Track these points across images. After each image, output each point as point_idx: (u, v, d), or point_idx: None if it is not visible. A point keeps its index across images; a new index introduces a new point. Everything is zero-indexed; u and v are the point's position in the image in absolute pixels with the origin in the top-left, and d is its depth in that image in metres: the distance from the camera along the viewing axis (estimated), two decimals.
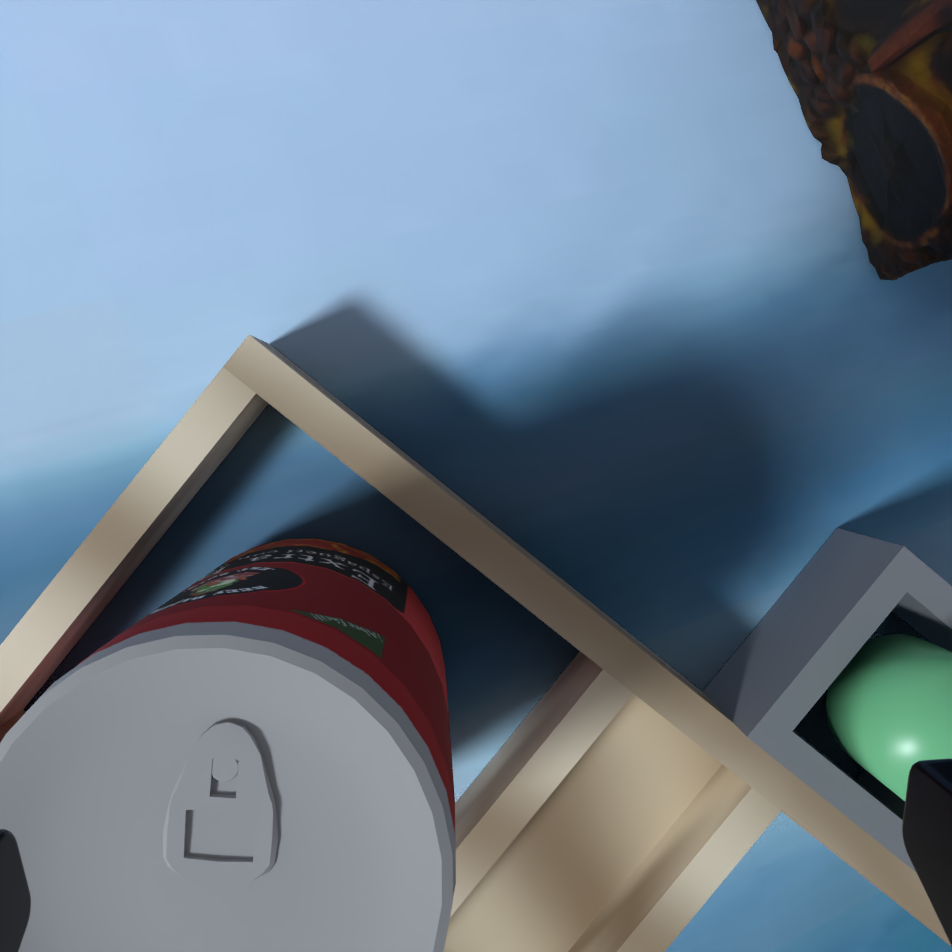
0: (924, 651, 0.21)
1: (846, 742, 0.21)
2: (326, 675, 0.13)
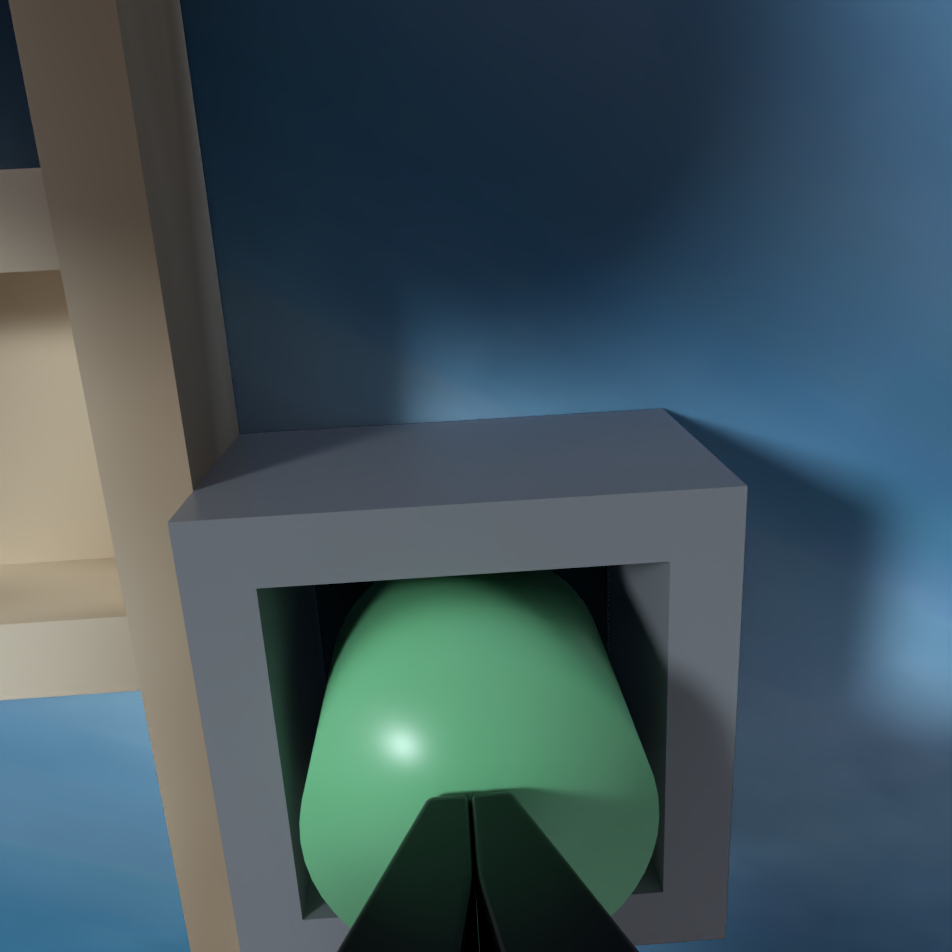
0: (581, 638, 0.10)
1: (336, 655, 0.10)
2: None
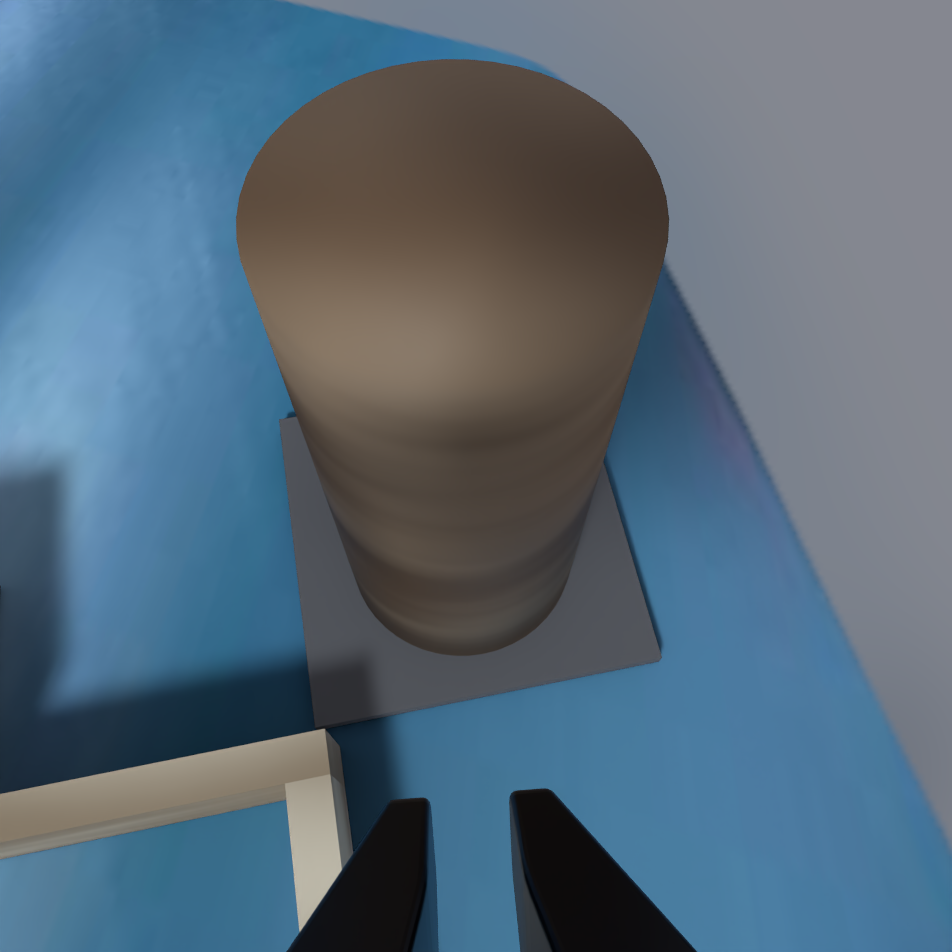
0: None
1: None
2: None
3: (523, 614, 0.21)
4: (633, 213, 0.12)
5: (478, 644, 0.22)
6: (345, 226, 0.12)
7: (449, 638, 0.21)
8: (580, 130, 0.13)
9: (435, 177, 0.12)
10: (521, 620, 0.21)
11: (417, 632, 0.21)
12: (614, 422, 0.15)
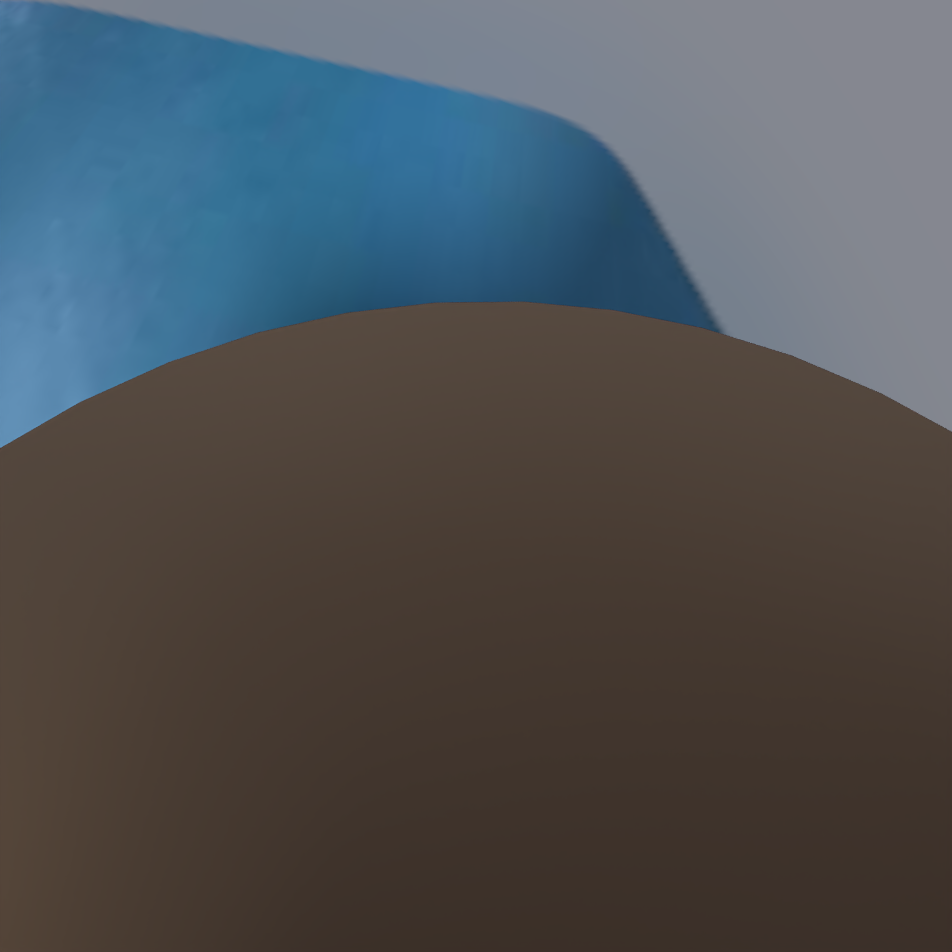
0: None
1: None
2: None
3: None
4: None
5: None
6: None
7: None
8: None
9: (412, 923, 0.03)
10: None
11: None
12: None
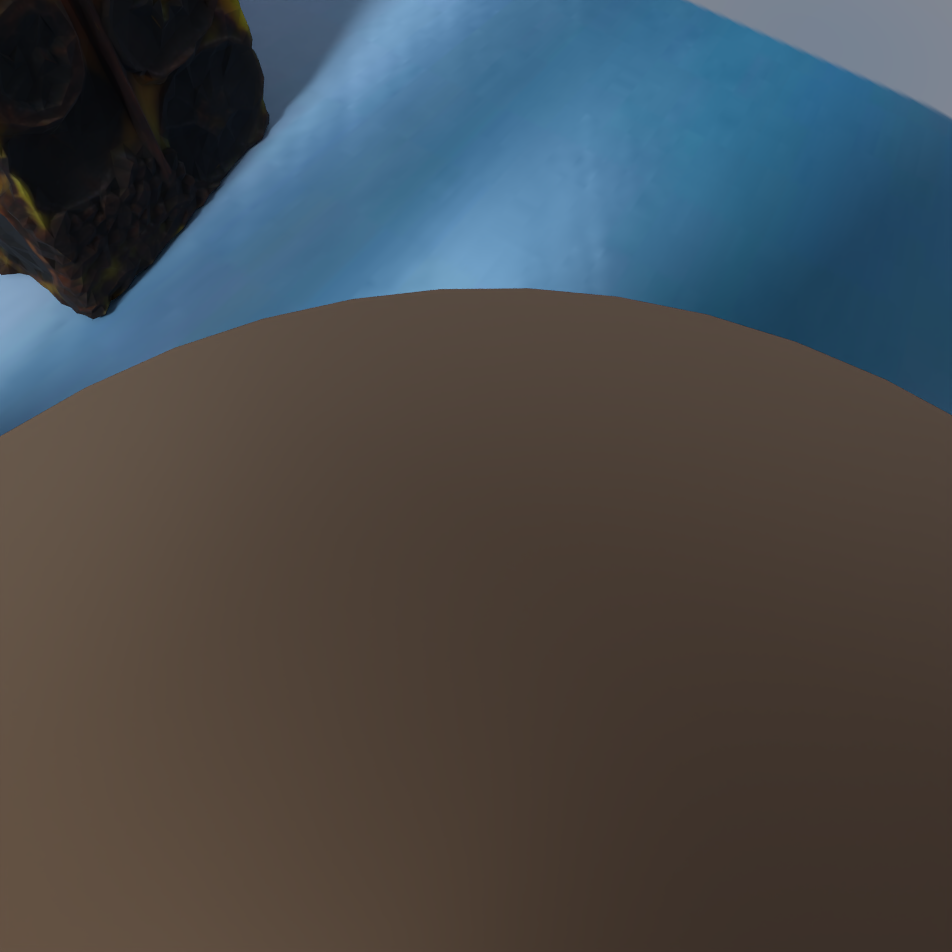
0: None
1: None
2: None
3: None
4: None
5: None
6: None
7: None
8: None
9: (418, 902, 0.03)
10: None
11: None
12: None
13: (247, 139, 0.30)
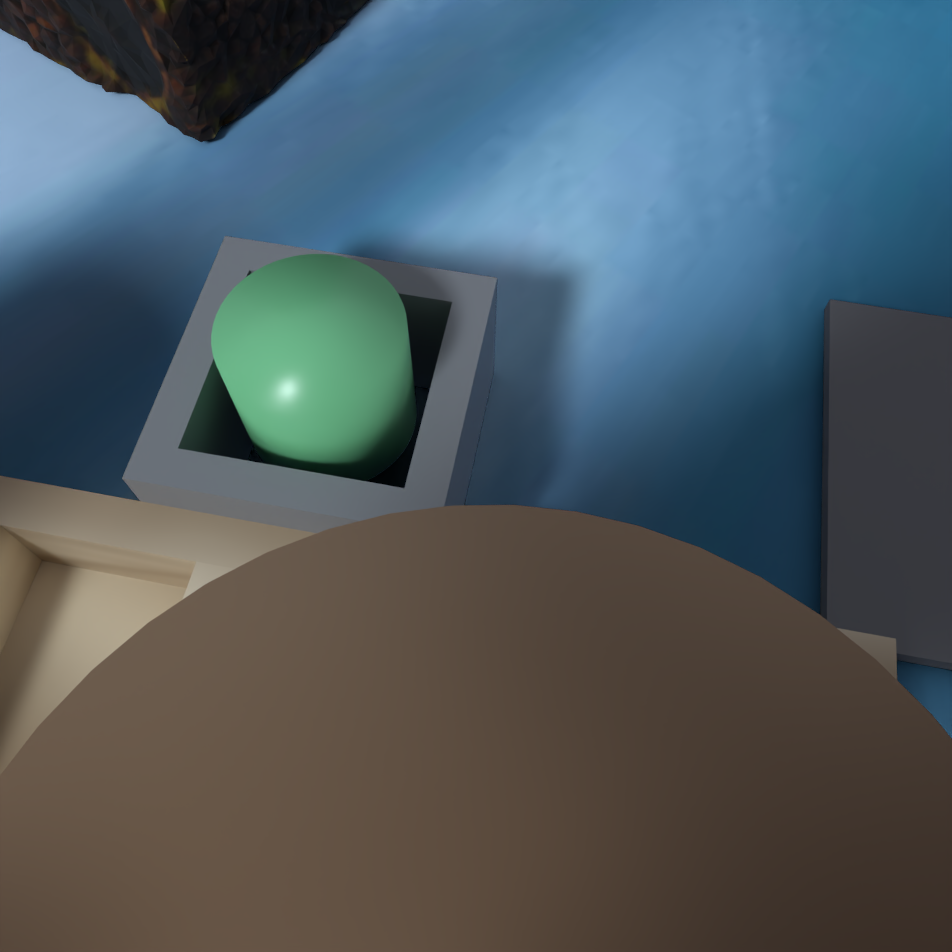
0: None
1: (264, 450, 0.17)
2: None
3: None
4: None
5: None
6: None
7: None
8: (825, 750, 0.05)
9: (439, 946, 0.04)
10: None
11: None
12: None
13: None
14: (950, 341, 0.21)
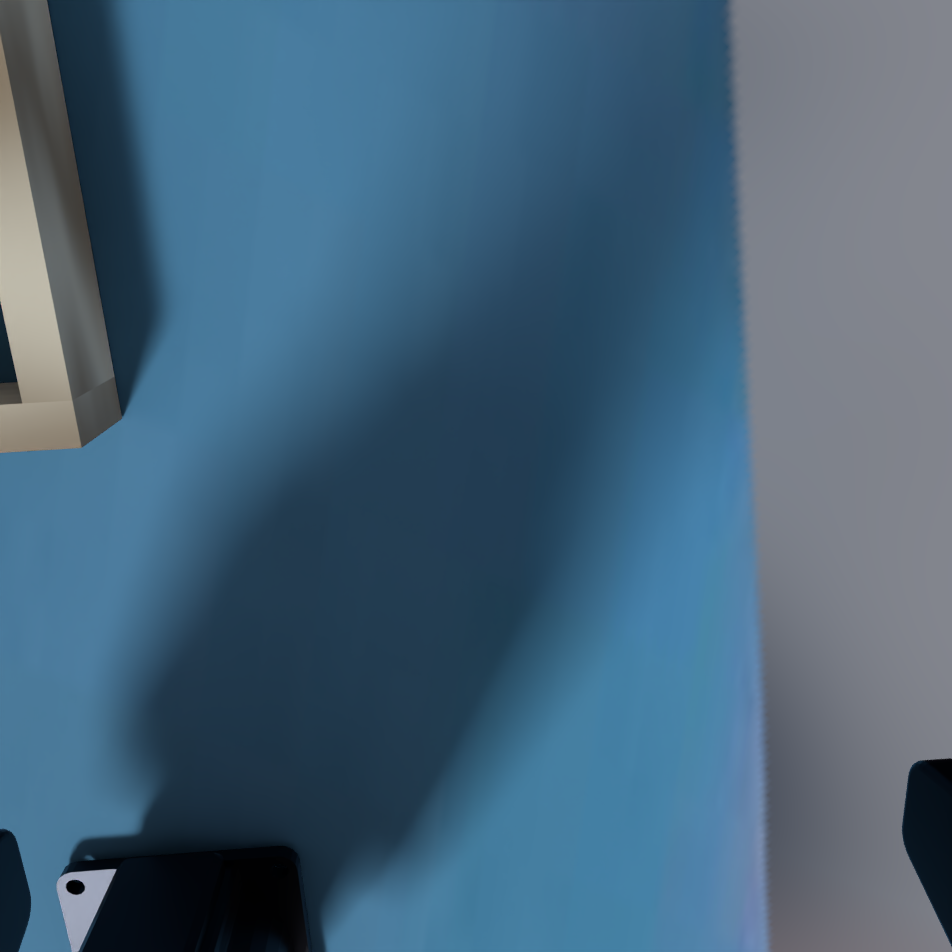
0: None
1: None
2: None
3: None
4: None
5: None
6: None
7: None
8: None
9: None
10: None
11: None
12: None
13: None
14: None
